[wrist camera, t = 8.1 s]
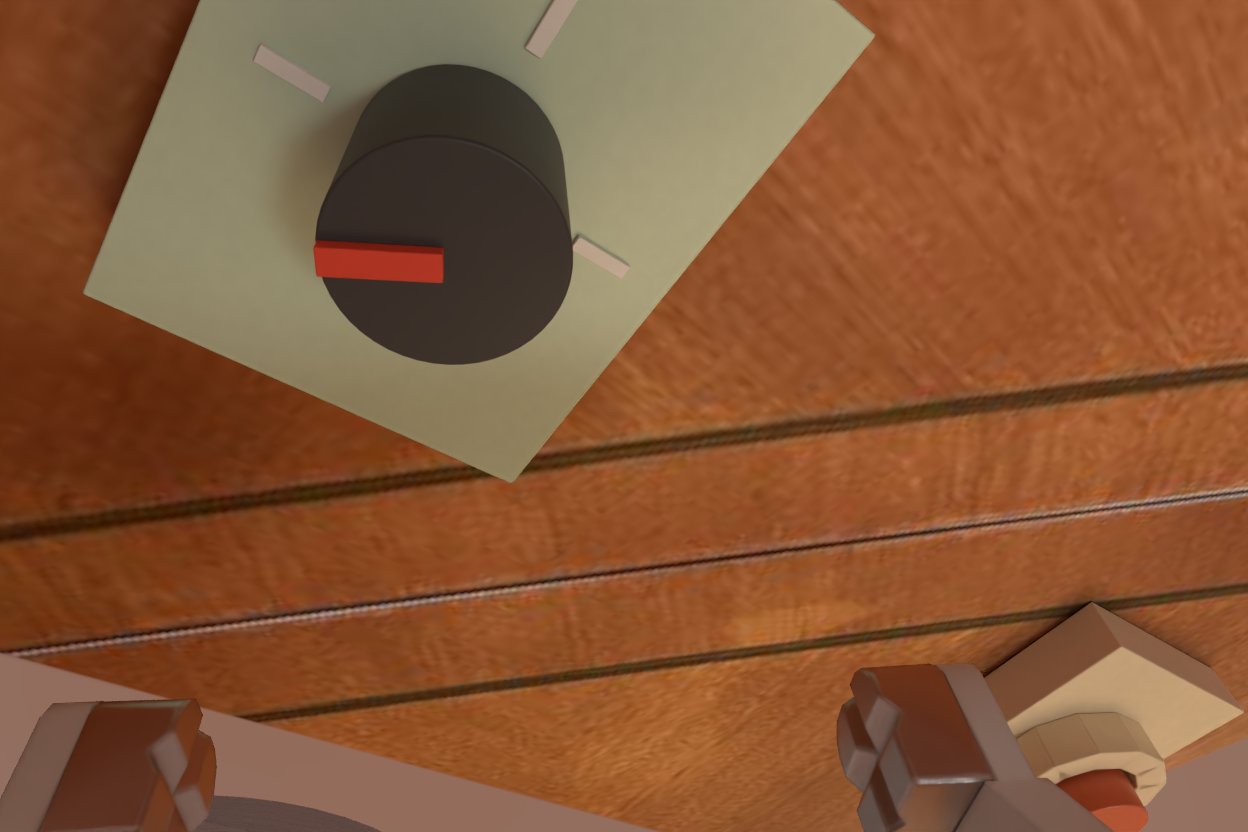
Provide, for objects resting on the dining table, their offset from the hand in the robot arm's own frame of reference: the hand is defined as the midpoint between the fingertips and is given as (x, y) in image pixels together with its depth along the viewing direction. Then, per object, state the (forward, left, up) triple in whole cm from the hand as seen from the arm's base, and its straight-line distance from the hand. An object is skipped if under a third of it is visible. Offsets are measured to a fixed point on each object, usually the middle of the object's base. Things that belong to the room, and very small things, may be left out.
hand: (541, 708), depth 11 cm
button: (-8, -31, -11) cm, 34 cm away
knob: (+1, +3, -11) cm, 12 cm away
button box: (-8, -31, -14) cm, 35 cm away
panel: (+1, +3, -14) cm, 15 cm away
